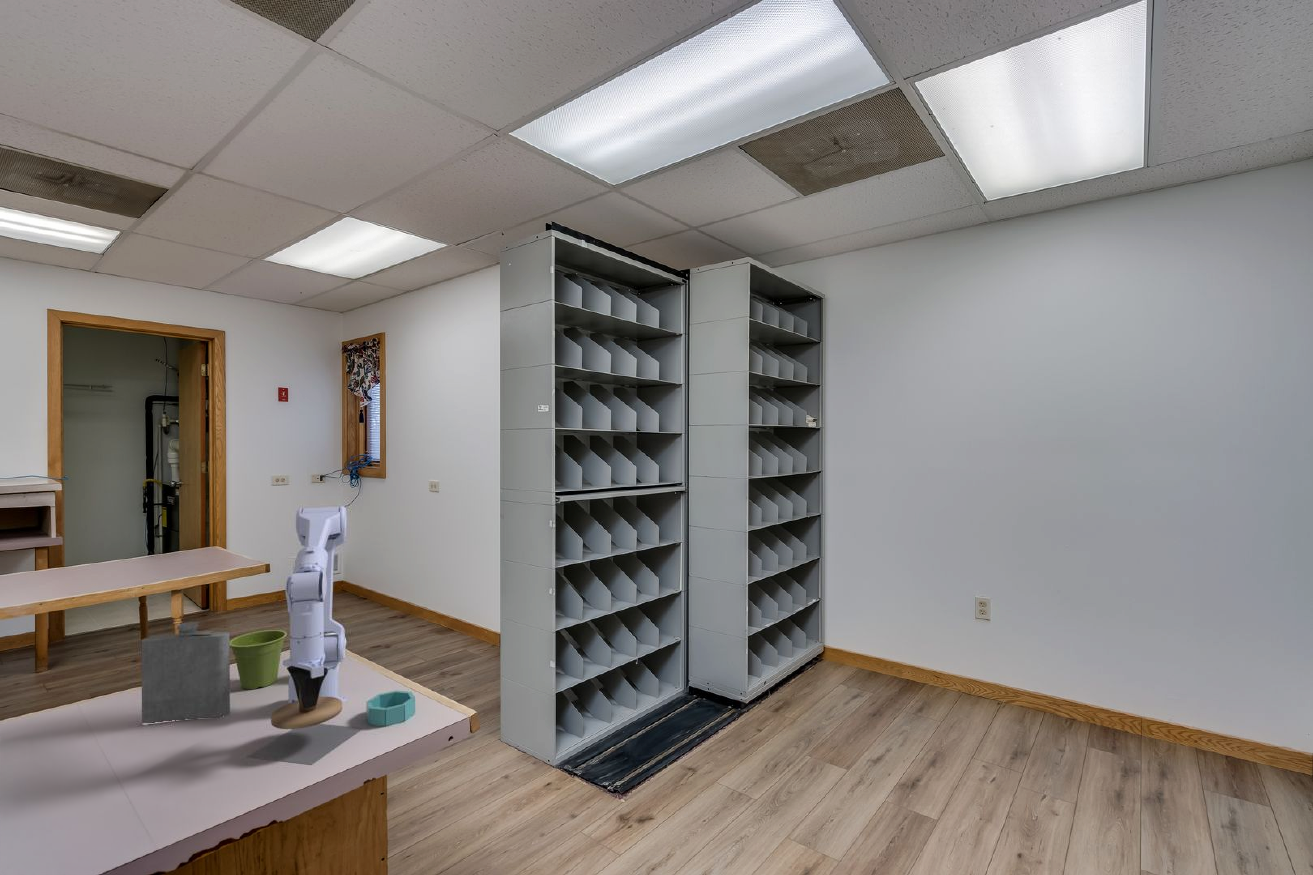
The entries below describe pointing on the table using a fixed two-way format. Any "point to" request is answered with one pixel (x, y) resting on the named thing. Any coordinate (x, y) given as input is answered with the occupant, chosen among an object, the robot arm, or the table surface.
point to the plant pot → (258, 657)
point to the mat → (306, 744)
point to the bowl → (390, 708)
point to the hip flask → (185, 675)
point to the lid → (306, 713)
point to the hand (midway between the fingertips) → (307, 703)
